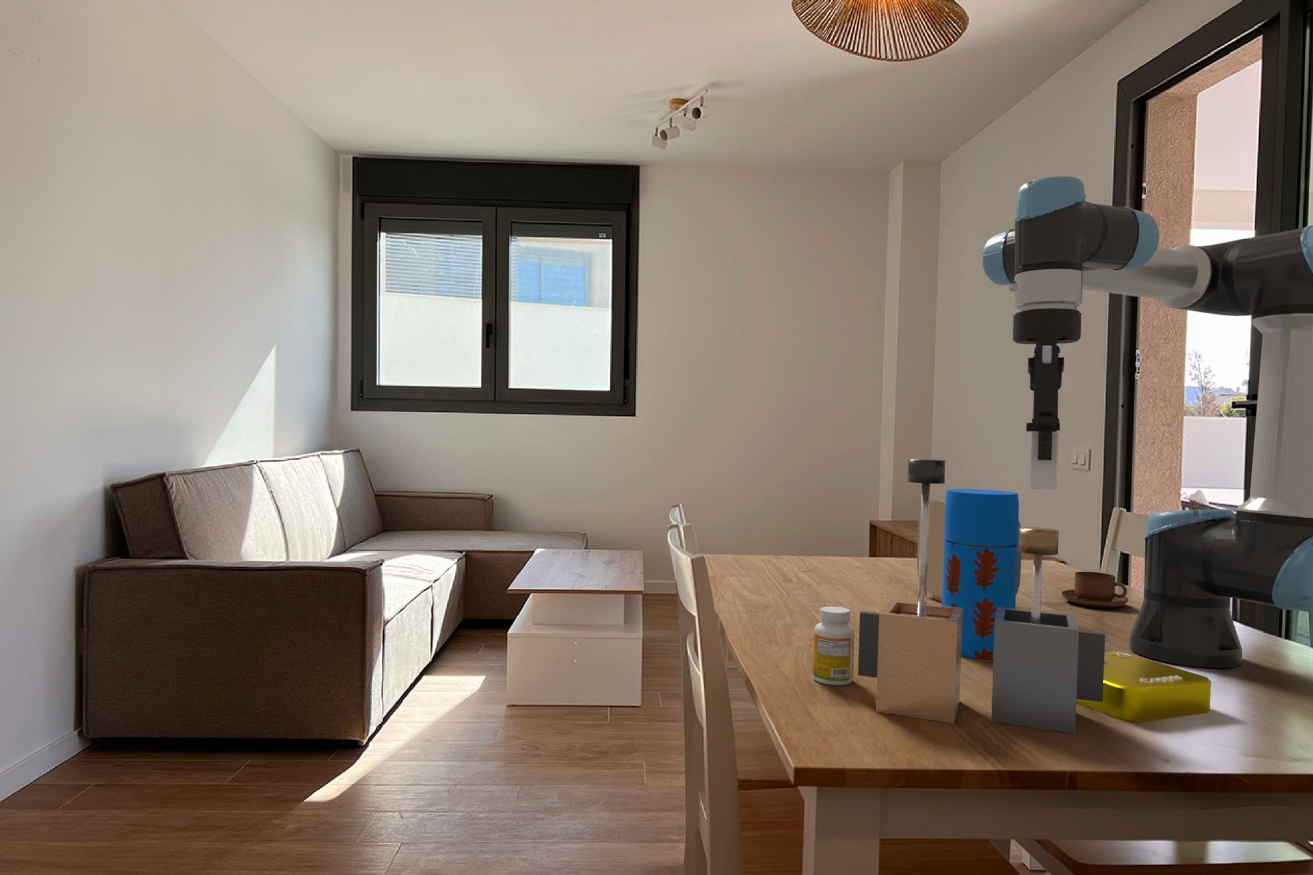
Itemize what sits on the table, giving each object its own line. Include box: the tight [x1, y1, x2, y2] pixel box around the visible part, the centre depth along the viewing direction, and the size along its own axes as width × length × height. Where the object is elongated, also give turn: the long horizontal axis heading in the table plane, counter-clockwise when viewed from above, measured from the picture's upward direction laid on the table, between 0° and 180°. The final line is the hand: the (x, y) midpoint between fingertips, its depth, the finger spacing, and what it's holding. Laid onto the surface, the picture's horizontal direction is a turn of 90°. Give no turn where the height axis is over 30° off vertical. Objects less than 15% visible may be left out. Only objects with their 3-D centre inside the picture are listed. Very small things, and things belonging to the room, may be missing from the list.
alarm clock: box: [916, 493, 1022, 603], centre depth 171 cm, size 21×10×22 cm, turn 15°
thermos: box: [941, 488, 1020, 660], centre depth 135 cm, size 11×11×25 cm
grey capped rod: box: [900, 458, 949, 620], centre depth 107 cm, size 6×6×21 cm
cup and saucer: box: [1061, 571, 1129, 609], centre depth 174 cm, size 12×12×6 cm
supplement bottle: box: [812, 606, 855, 686], centre depth 118 cm, size 5×5×10 cm
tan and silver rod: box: [1018, 526, 1060, 624], centre depth 105 cm, size 6×6×21 cm
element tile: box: [1076, 650, 1212, 723], centre depth 113 cm, size 15×15×5 cm
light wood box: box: [857, 599, 963, 724], centre depth 108 cm, size 12×9×12 cm
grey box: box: [991, 607, 1106, 735], centre depth 104 cm, size 12×9×12 cm
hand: (1042, 485), depth 105 cm, fingers open, 13 cm apart
